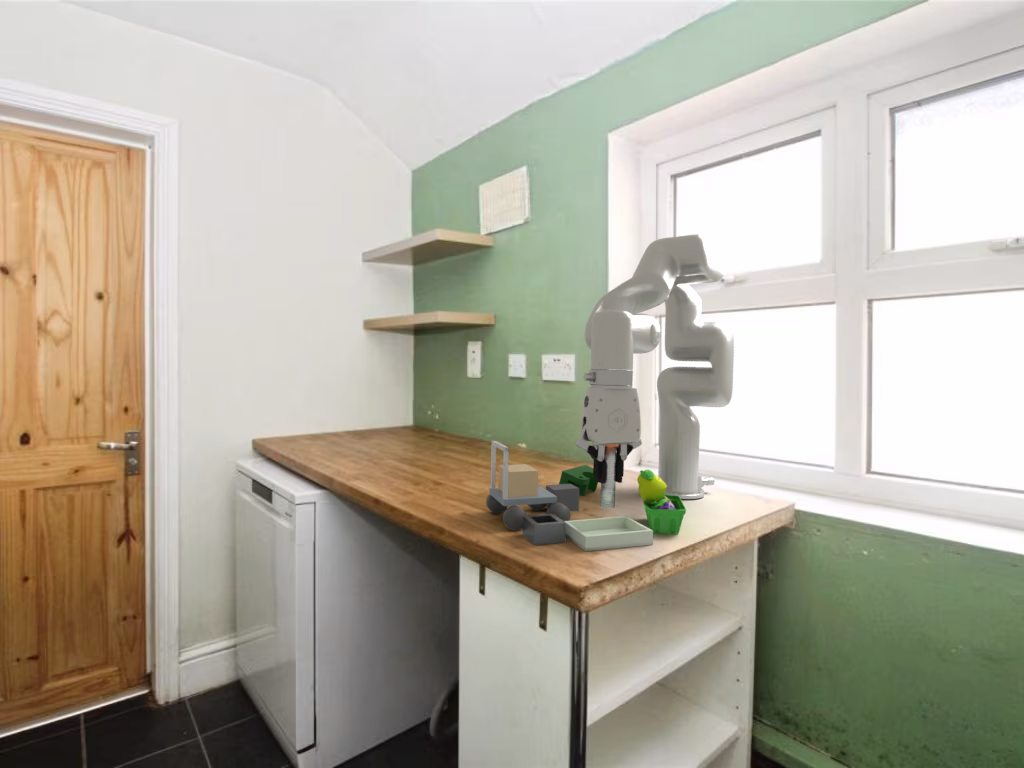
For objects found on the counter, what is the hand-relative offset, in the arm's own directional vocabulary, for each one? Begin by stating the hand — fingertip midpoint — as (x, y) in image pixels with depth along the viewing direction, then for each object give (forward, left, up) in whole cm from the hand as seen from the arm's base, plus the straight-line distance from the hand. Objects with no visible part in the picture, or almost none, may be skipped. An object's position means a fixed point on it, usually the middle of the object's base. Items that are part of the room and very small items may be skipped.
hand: (608, 480), depth 96 cm
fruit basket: (-14, -5, -11) cm, 19 cm away
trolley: (+10, -16, -11) cm, 21 cm away
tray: (0, 0, -11) cm, 11 cm away
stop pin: (0, 0, -5) cm, 5 cm away
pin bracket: (+11, -4, -11) cm, 16 cm away
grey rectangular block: (0, -21, -11) cm, 24 cm away
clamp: (-11, -34, -11) cm, 37 cm away
